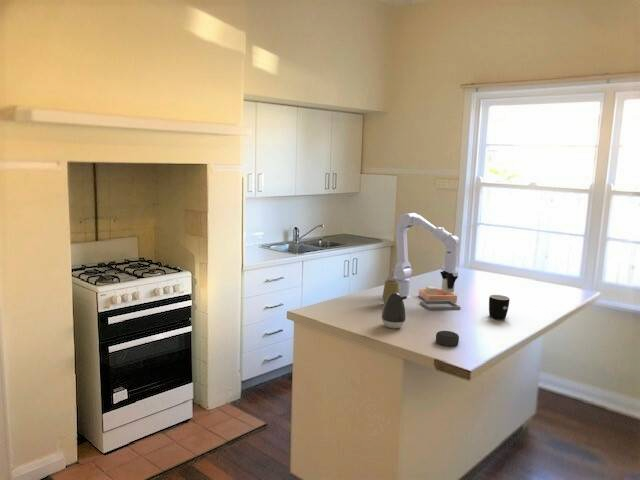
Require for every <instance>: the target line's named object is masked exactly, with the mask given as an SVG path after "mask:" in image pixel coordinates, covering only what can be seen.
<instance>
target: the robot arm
mask: <svg viewBox="0 0 640 480" xmlns="http://www.w3.org/2000/svg"><path fill="white" fill-rule="evenodd" d="M413 226H419V227H421V228H423V229H425V230H427V231H428V232H430V233H431V234H432V236H433V238H435V239H437V240H438V241H439V242H440V243H442V244H443V246H444V247H445V252H444V260H443V261H444V262H443V265H441V269H440V270H441V271H440V275H441V278H442V280H443V278H447V282H448V289H452V288H453V285H454V286H455V284H454V283H455V282H456V281H457V279H458V278H459V272H458V270H459V269H457V260H458V259H457V258H458V257H457V256H458V246H460V244H461V240H460V238H459V237H458V235H453V233H451V232H448V231H447V230H446V229H445V228H444V227H440V226H438V227H436V226H435V225H433V224H432V223H430V222H429V221H428V220H427V219H425V218H424V217H423V216H422V215H420V214H418V213H416V212H410V213H403V214H402V215H400V216H399V218H398V222H397V225H396V227H395V235H396V254H397V255H396V256H397V258H396V259H397V262H396V264H395V267H394V268H395V269H394V274H395V276H396V277H397V282H398V284H399V294H400V295H401V297H404V296H407V298H411V296H410V282H411V281H410V280H411V277H412V276H413V269H412V266H411V263H410V261H409V253H408V250H409V249H408V233H407V232H408V231H409V230H410V229H411V228H412V227H413Z"/></svg>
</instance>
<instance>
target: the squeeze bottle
mask: <svg viewBox="0 0 640 480" xmlns="http://www.w3.org/2000/svg"><path fill="white" fill-rule="evenodd" d="M394 271H395V269H391V270H390V274H389V276H386V277H387V279H386V280H385V281H384V285H383V286H384V287H383V292H382V302H383V305H384V304H385V302H386V300H387V298H388V296H389V295H390V294H391V293H393V292H397V293H399V284H398V282H397V277H396V276H395V274H394Z"/></svg>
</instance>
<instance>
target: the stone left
mask: <svg viewBox="0 0 640 480" xmlns="http://www.w3.org/2000/svg"><path fill="white" fill-rule="evenodd" d="M425 289H426V293H427V294H428V295H430V296H431V295H437V293H438V289H439V288H438V287H436V286H430V285H429V286H426V288H425Z"/></svg>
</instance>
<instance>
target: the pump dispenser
mask: <svg viewBox="0 0 640 480" xmlns="http://www.w3.org/2000/svg"><path fill="white" fill-rule="evenodd" d="M407 299H408V297H407V296H404V297H401V295H400V294H399V293H397V292H393V293H391V294H390V295H389V296H388V298H387V300H386V302H385V304H384V303H383V308H382V312H381V320H382V323H383V324H384V326H385V327H387V328H388V329H395V330H396V329H399V328H401V327H403V325H404V323H405V322H406V319H407V317H406V314H407V313H406V307H405V302H404V300H407Z"/></svg>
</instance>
